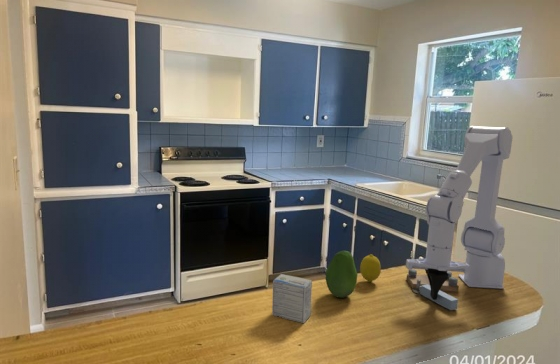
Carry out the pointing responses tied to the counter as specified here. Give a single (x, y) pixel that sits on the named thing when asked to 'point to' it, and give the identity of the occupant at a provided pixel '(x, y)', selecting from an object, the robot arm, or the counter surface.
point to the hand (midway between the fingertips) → (433, 298)
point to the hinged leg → (440, 297)
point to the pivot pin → (417, 287)
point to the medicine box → (292, 298)
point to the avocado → (341, 274)
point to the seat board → (413, 277)
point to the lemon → (370, 268)
